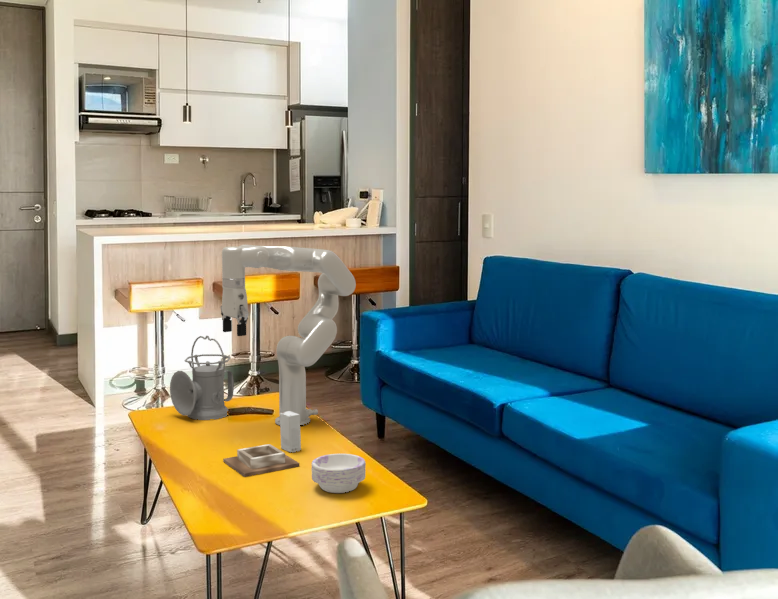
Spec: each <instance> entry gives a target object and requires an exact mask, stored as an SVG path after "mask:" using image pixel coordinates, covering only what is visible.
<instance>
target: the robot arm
mask: <svg viewBox="0 0 778 599" xmlns="http://www.w3.org/2000/svg"><path fill="white" fill-rule="evenodd" d="M221 265H222V266H221V268H222V269H221V270H222V271H221V273H222V274H221V275H222V276H221V277H222V280H221V281H222V282H221V283H222V285H221V287H222V297H221V298H222V300H221V305H220V307H219V308H220V315H221V320H222V332H223V333H231V332H232V331H233V324H232V323H233V321H232V320H233V319H232V318H234V319H235V320H236V321H237V324H236V336H237V337H244V336H247V324H248V320H249V318H248V317H249V313H250V312H249V308H248V305H249V304H248V295H247V289H246V268H251V269H253V268H255V269H259V268H268V269H274V270H278V271H279V270H280V271H286V272H287V271H288V272H305V273H306V272H307V273H319V274H320V275H319V276H318V280H317V287H318V299H317V300H316V302H314V305H313V306H312V307H311V309H310V310H309V311H308V312H307V313H306V314H305V315H304V316H303V318H302V319H301V320H300V321H299V323H298V325H297V333H298V335H299V336H300V337H299V336H296V335H287V336H286V335H285V336H283V337H282V338H280V340H279V341H278V342H277V345H276V358H277V363H278V376H279V377H278V378H279V379H278V385H279V386H278V388H279V392H278V393H279V394H278V396H279V397H278V398H279V401H278V403H279V404H278V405H279V409H278V410H279V412H278V413H279V415H280V413H282V412H287V411H291V412H294V413H297V414H299V415H300V425H303V426H305V425H304V424H306V425H308V424H310V423H311V418H310V417H311V416H315V415H316V416H317V415H319V411H318V409H317V408H316V409H311V408H307V403H306V402H307V398H306V397H307V388H306V387H307V378H306V377H307V374H306V368H305V367H307V368H308V367H311V366H313V365H314V364H316V363H317V361H318V360H319V359H320V358H321V357H322V356H323V355H324V354H325V352H326V351H327V350H328V349H329V347H330V346H331V345H332V343H333V342H334V341H335V339H336V337H337V334H338V327H337V324H336V321H334V320H333V319H334V318H335V316H336V315H337V313H338V311H339V305H340V304H339V296H341V297H348V296H350V295H352V294H353V293H354V292H355V290H356V286H357V284H356V283H357V282H356V279H355V276H354V275H353V274H352V272H351V271H350V270H349V268H348V267H347V265H346V264H345V263H344V262H343V260H342V259H341V258H340V257H339V256H338V255H337V254H336V253H335V252H334V251H333V250H330V249H323V248H311V247H297V246H285V245H284V246H282V245H281V246H280V245H279V246H269V245H268V246H267V245H254V244H253V245H252V244H240V245H239V246H225V247H223V248H222V250H221ZM274 422H275V424H276V425H278V426H280V416H277V417H275V420H274ZM309 422H310V423H309ZM307 423H308V424H307Z"/></svg>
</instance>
